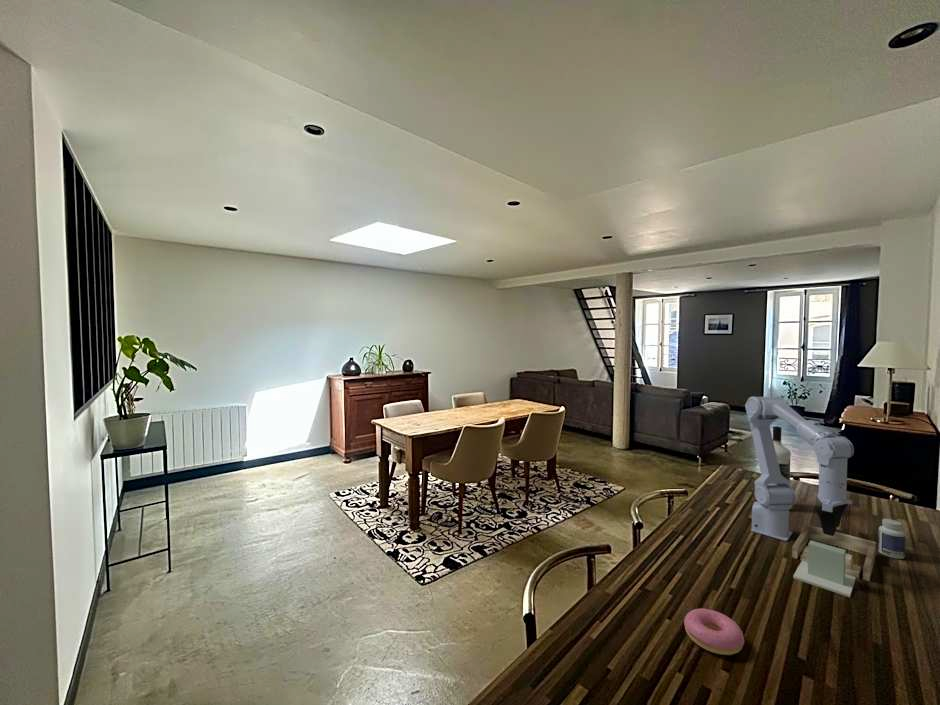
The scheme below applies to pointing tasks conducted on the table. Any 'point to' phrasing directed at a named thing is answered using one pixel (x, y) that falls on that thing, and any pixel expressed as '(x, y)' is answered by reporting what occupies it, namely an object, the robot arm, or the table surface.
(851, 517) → the table surface
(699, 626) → the doughnut
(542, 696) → the table surface
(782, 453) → the vodka
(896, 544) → the pill bottle
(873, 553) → the rack
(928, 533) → the table surface
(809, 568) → the green panel
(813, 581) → the grey pad
